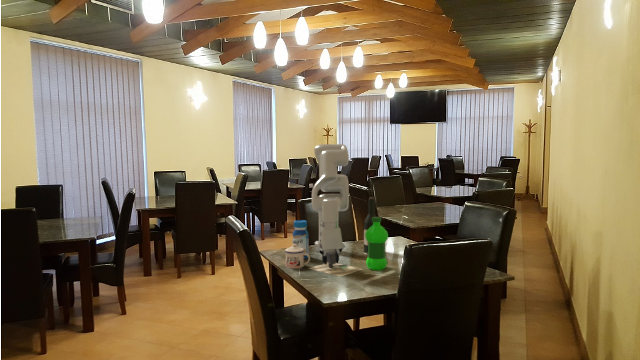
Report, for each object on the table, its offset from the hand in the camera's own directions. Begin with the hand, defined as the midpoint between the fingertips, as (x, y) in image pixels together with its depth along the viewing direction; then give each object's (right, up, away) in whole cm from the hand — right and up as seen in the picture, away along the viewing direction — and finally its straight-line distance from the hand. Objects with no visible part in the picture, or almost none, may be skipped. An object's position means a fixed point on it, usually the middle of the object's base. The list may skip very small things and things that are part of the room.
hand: (330, 262), depth 216 cm
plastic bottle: (+21, -4, -1) cm, 22 cm away
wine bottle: (+23, -1, +37) cm, 44 cm away
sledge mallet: (+3, -2, +2) cm, 4 cm away
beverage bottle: (-15, -2, +21) cm, 26 cm away
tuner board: (+2, -4, -2) cm, 5 cm away
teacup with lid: (-16, -4, +4) cm, 17 cm away
